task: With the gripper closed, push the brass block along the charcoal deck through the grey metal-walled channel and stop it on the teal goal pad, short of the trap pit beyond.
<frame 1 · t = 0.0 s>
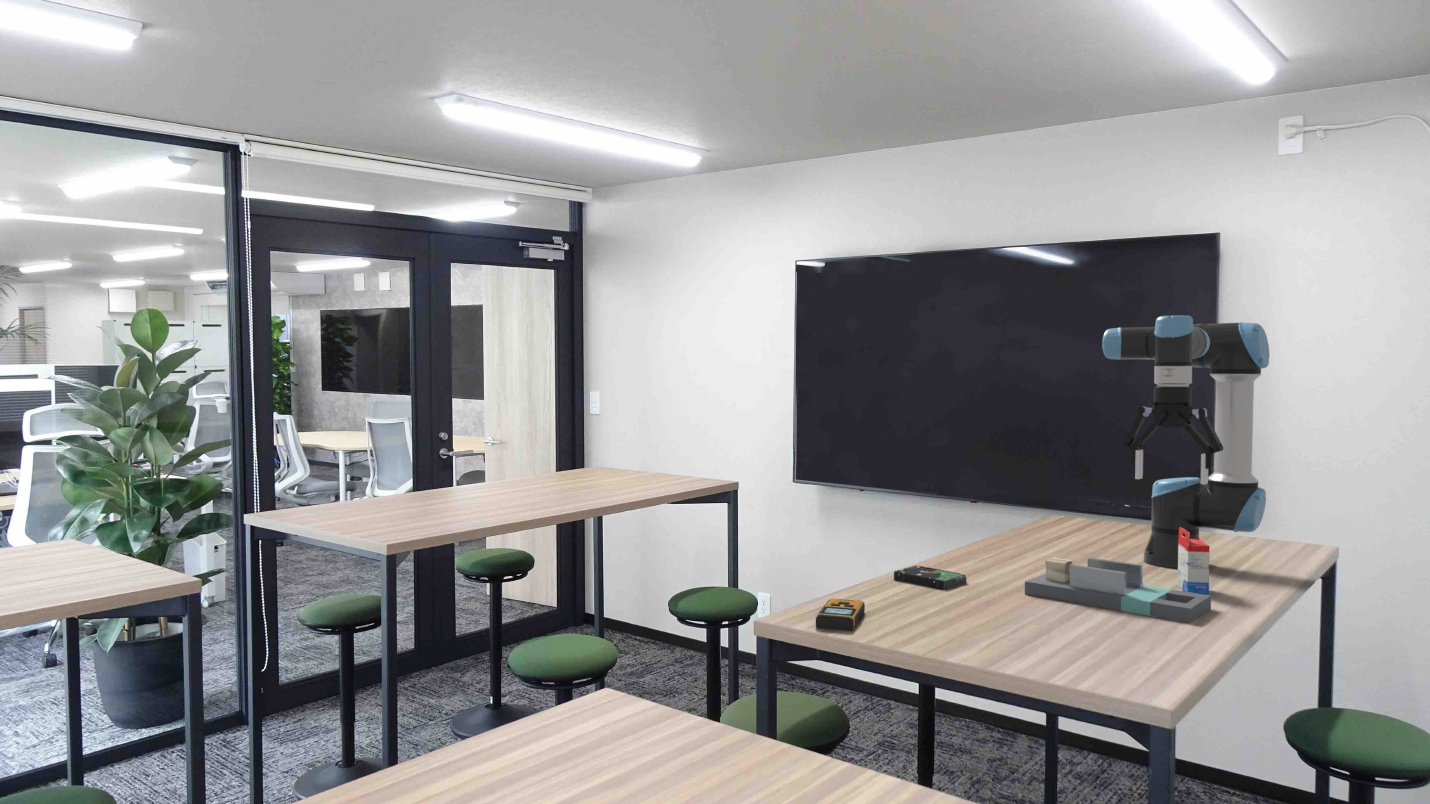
hand: (1170, 481, 206), 28 cm above the table, fingers open, 13 cm apart
disk drive: (929, 584, 231), on the table
electronic device: (840, 622, 196), on the table
brass block: (1058, 579, 220), point 3 cm above the table, touching tunnel deck
tunnel deck: (1105, 599, 213), on the table
ink box: (1192, 591, 222), on the table
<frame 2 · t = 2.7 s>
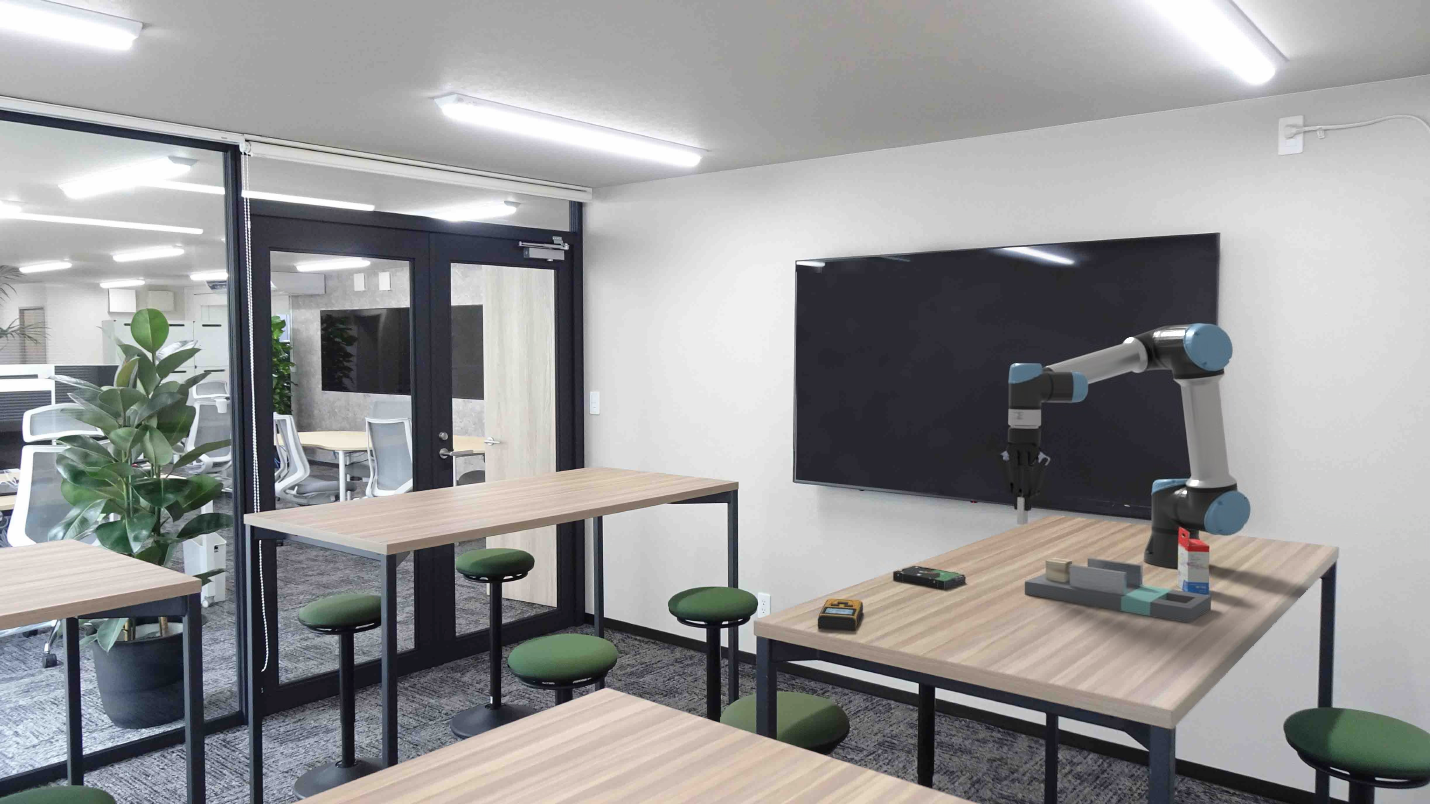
hand: (1022, 523, 226), 15 cm above the table, fingers closed
nothing on the table moved.
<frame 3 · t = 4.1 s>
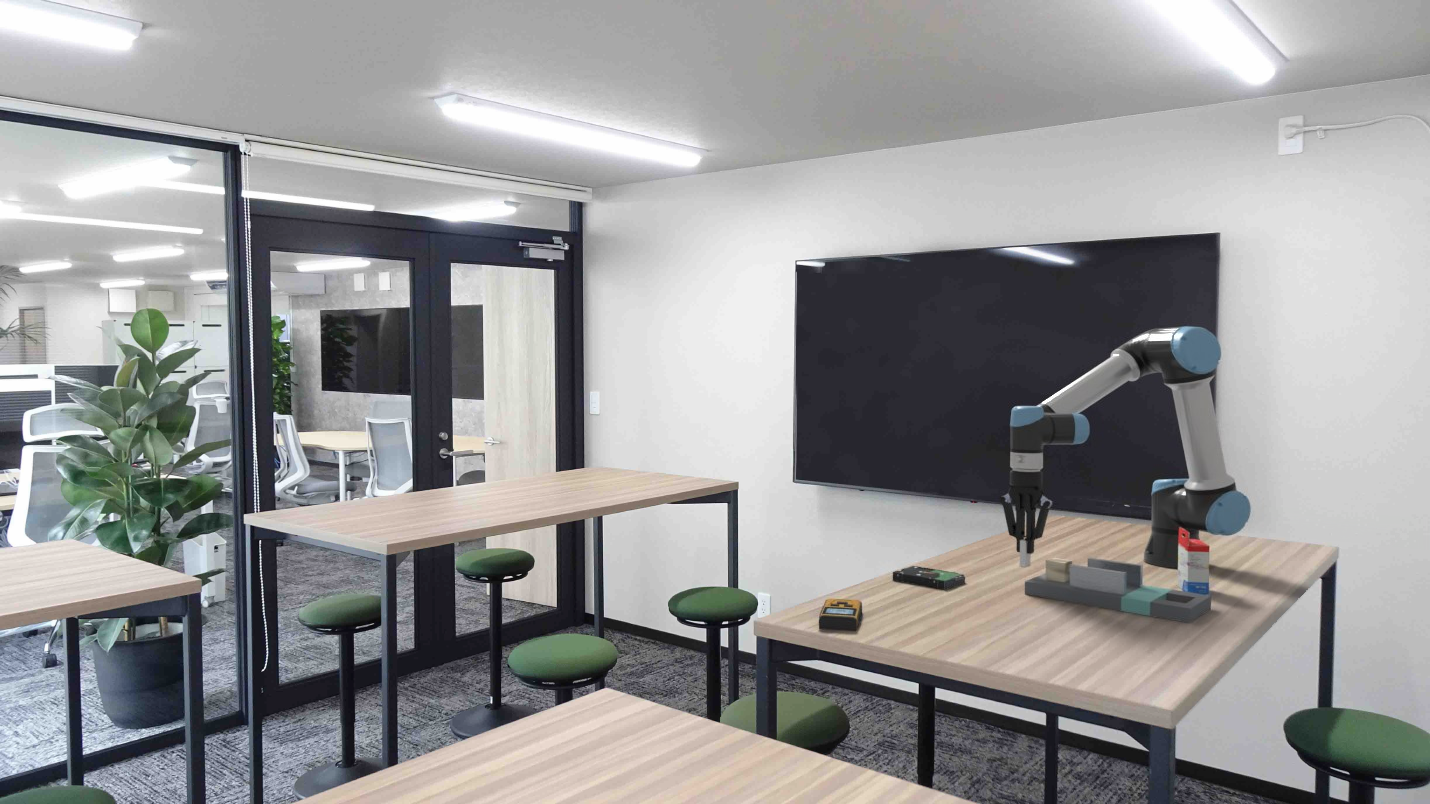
hand: (1025, 566, 226), 5 cm above the table, fingers closed
nothing on the table moved.
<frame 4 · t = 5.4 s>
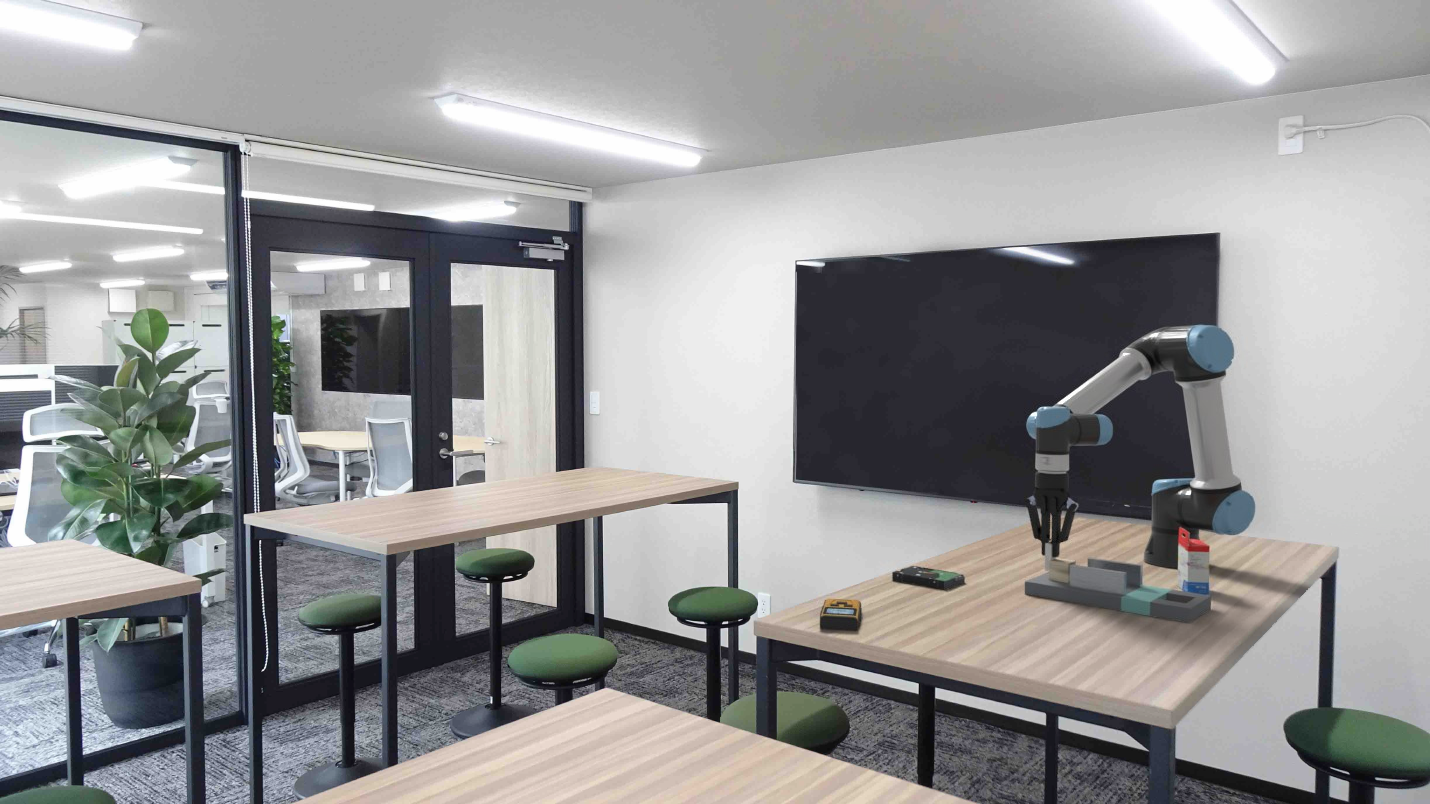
hand: (1050, 569, 222), 5 cm above the table, fingers closed
brass block: (1062, 579, 220), point 3 cm above the table
everything else where it was.
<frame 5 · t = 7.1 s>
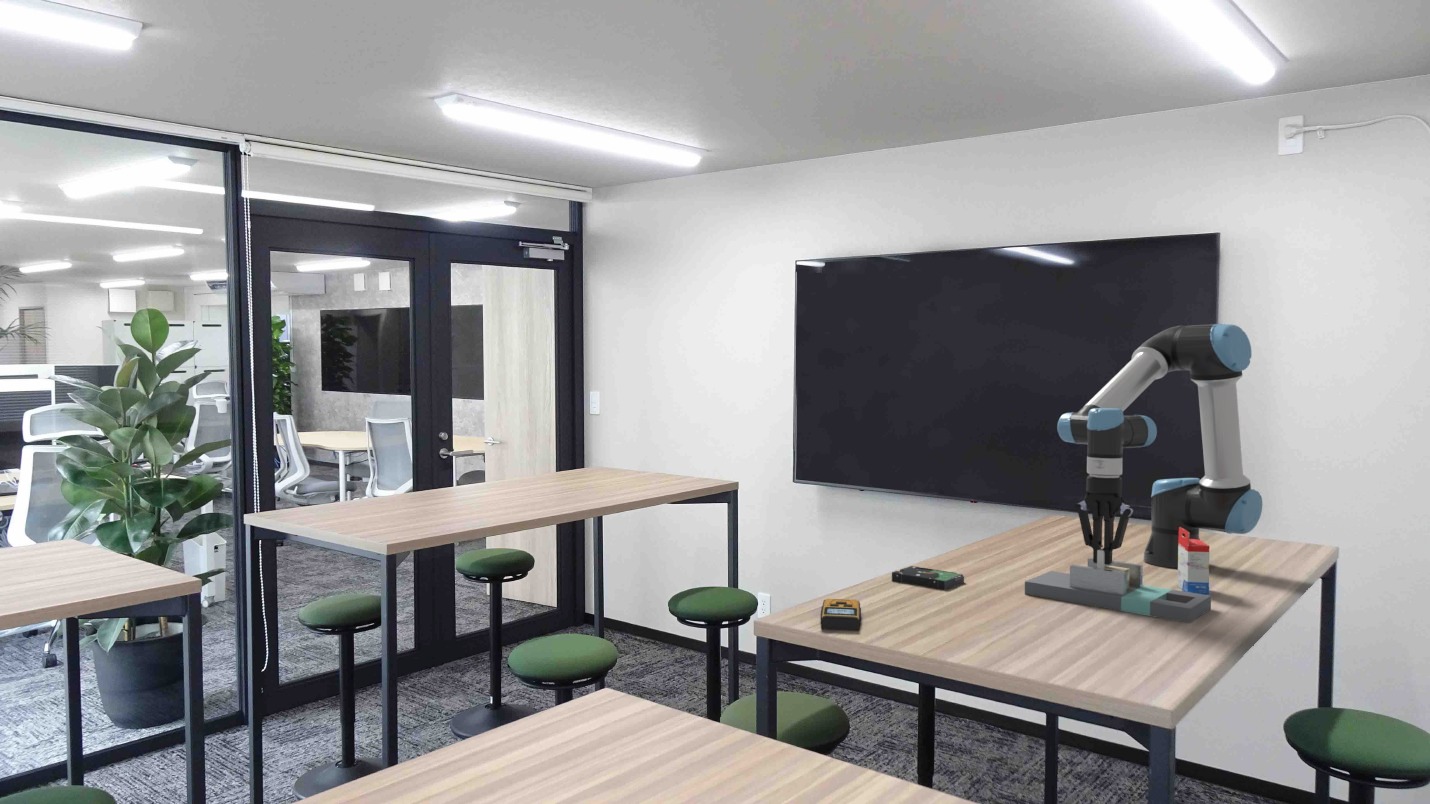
hand: (1102, 577, 213), 5 cm above the table, fingers closed
brass block: (1115, 588, 211), point 3 cm above the table
everything else where it was.
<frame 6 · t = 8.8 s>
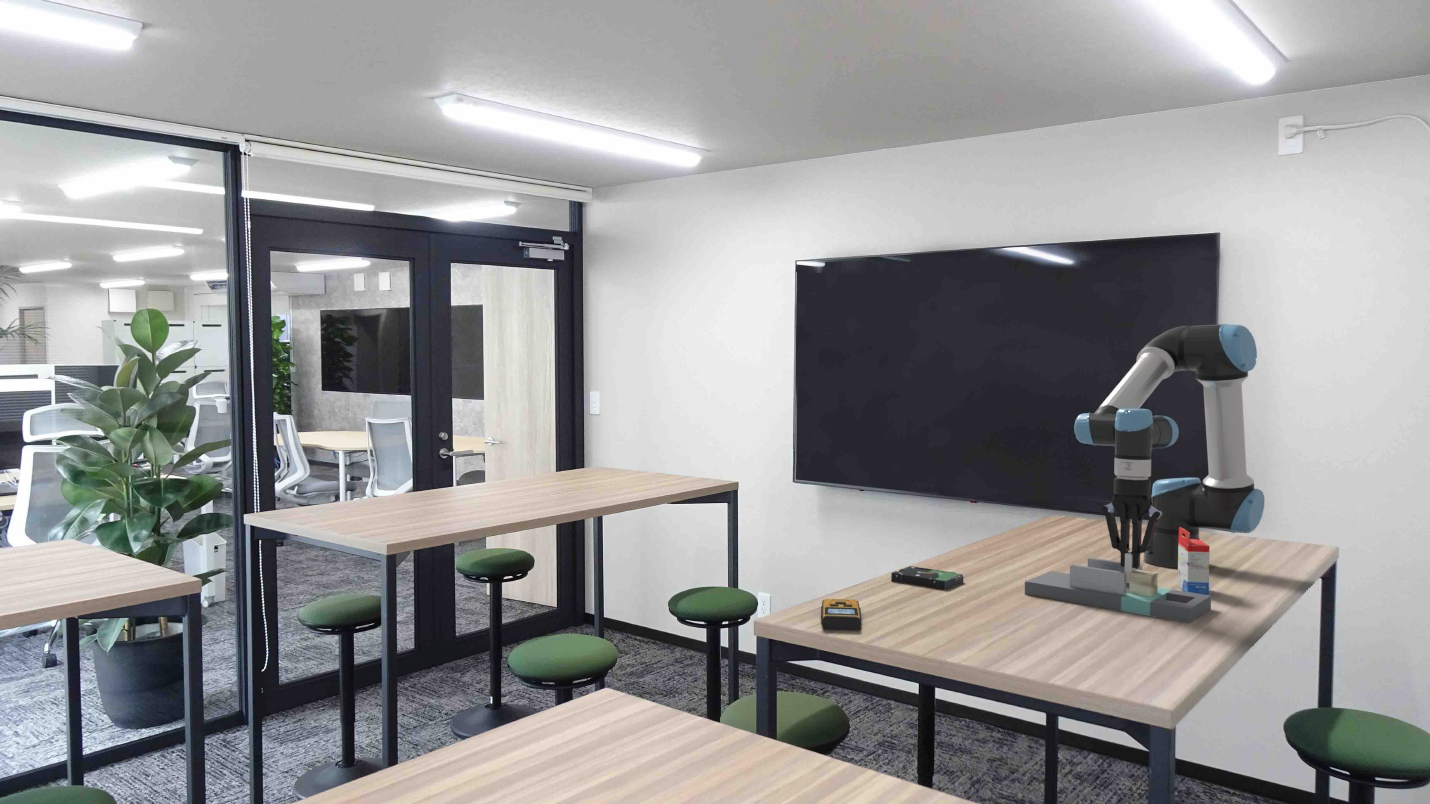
hand: (1129, 581, 209), 5 cm above the table, fingers closed
brass block: (1143, 592, 207), point 3 cm above the table, touching gripper, tunnel deck
everything else where it was.
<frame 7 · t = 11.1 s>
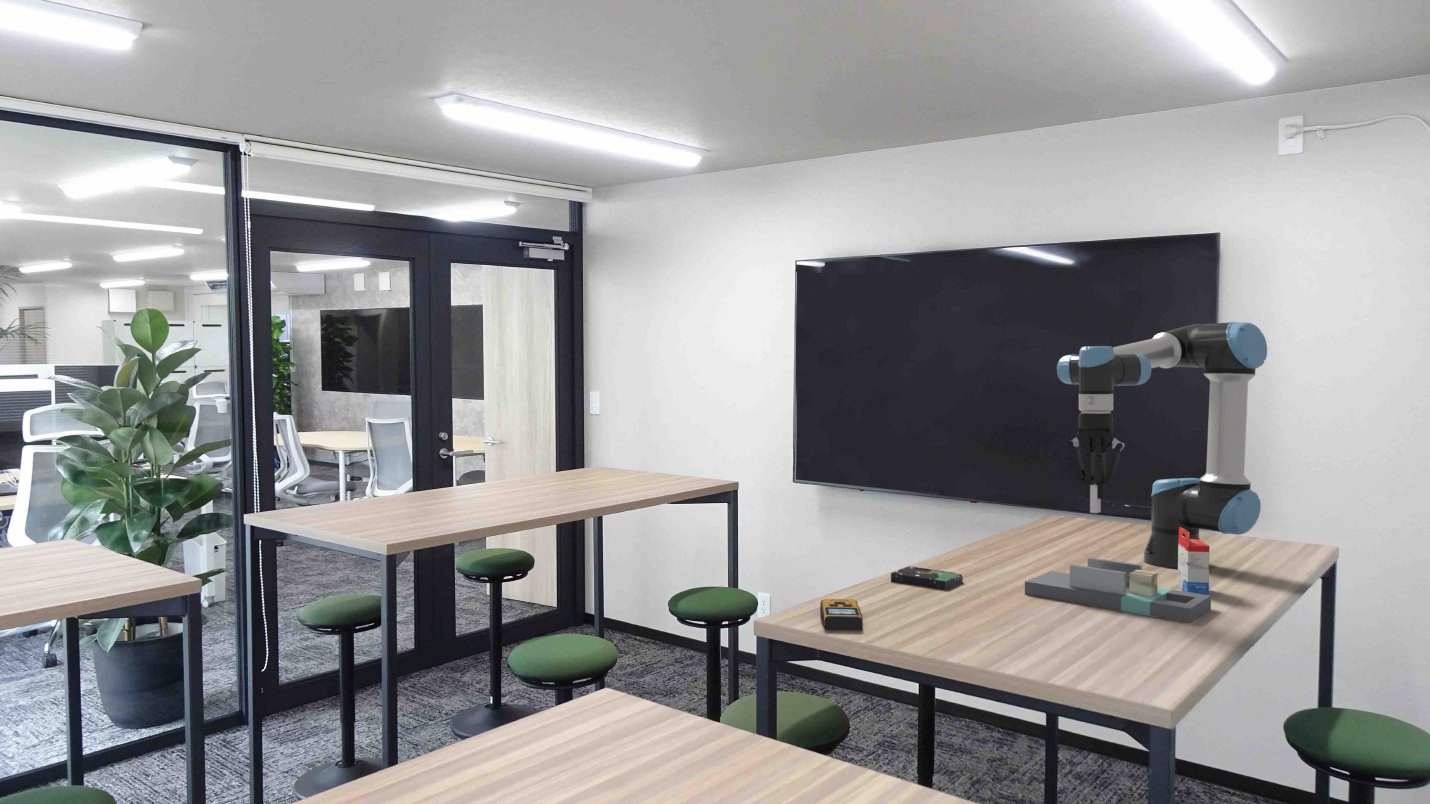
hand: (1095, 512, 218), 19 cm above the table, fingers closed
brass block: (1143, 592, 207), point 3 cm above the table, touching tunnel deck
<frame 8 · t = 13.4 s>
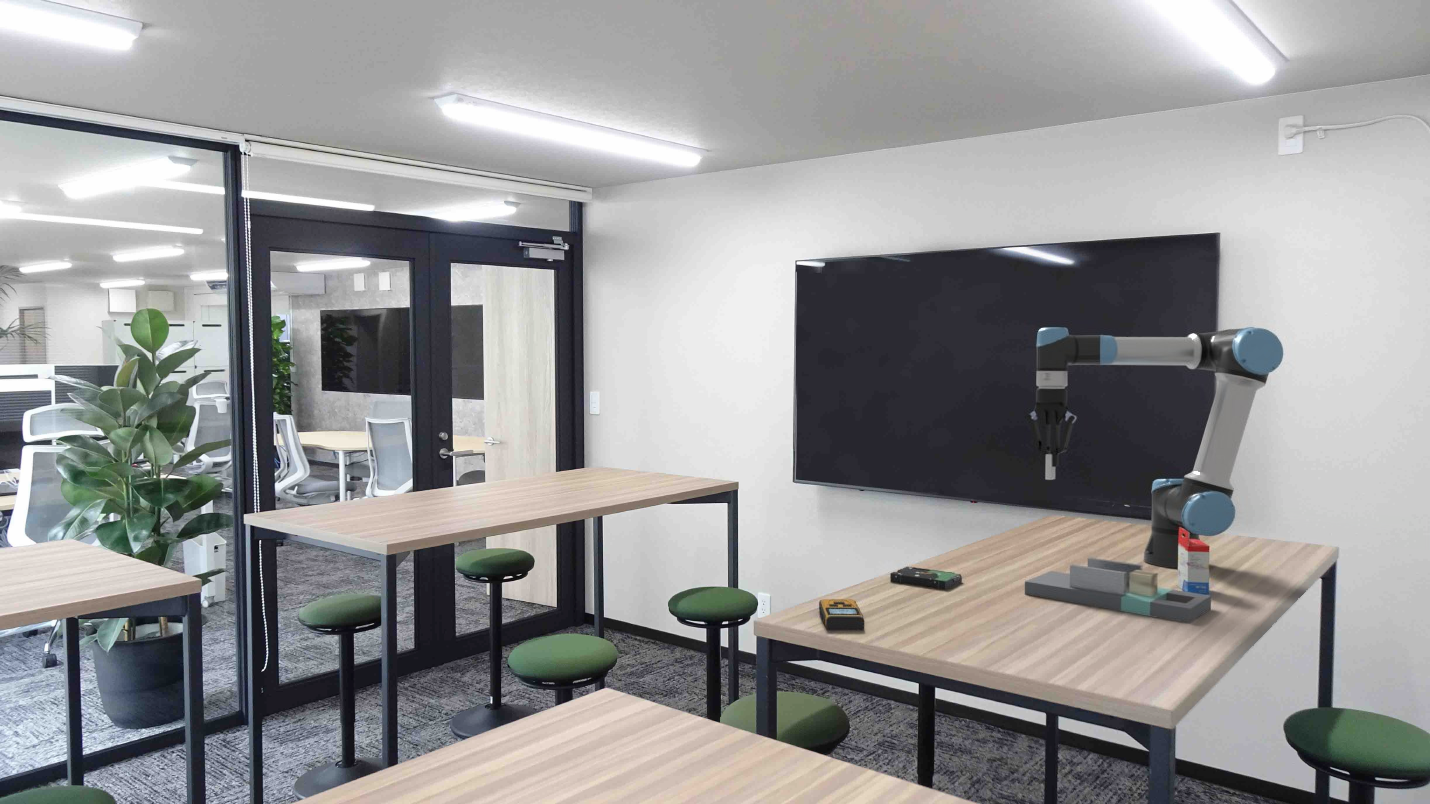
hand: (1050, 479, 239), 24 cm above the table, fingers closed
at the end: brass block inside the target area on the tunnel deck (0.4 cm from its centre), point 3.0 cm above the tunnel deck's base; brass block tilted 0° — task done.
